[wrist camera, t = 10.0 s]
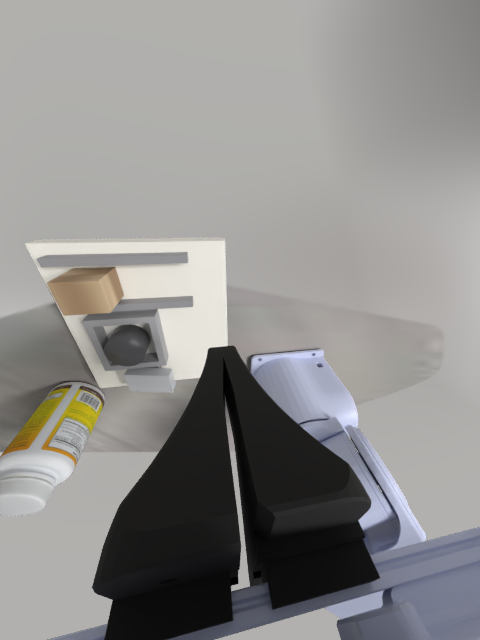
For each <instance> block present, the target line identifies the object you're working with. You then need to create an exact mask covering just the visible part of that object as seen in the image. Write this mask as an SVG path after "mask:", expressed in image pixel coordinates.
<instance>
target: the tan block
mask: <svg viewBox="0 0 480 640" xmlns="http://www.w3.org/2000/svg"><path fill="white" fill-rule="evenodd" d="M47 284H48V286H49V288H50V290H51V292H52V294H53V296H54V298H55V300H56V302H57V304H58V306H59V308H60V310H61V311H62V313H63V315H64V316H66V315H83V314H100V313H111V311H112V310H113V309H114V308H115V306H116V305H117V304H118V303H119V301H120V300H121V299H122V297H123V296H124V293H123V290H122V287H121V284H120V280H119V277H118V274H117V271H116V268H115V267H101V268H72V269H71V270H69V271H67V272H65V273H63V274H62V275H60V276H58V277H56V278H55V279H53V280H51V281H49V282H47Z"/></svg>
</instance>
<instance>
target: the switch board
mask: <svg viewBox="0 0 480 640" xmlns="http://www.w3.org/2000/svg"><path fill="white" fill-rule="evenodd" d="M25 245H26V247H27V249H28V251H29V253H30V255H31V257H32V259H33V261H34V262H35V264H36V266H37V268H38V270H39V272H40V274H41V276H42V278H43V279H44V282H45V284H46V285H47V287H48V289H49V291H50V293H51V295H52V297H53V299H54V301H55V303H56V305H57V306H58V304H57V302H56V300H55V298H54V296H53V294H52V292H51V290H50V288H49V286H48V284H47V282H49V281H51V280H53V279H55V278H56V277H58V276H60V275H62V274H63V273H65V272H67V271H69V270H71V269H72V268H101V267H115V268H116V271H117V274H118V277H119V280H120V284H121V287H122V290H123V293H124V296H123V297H122V299H121V300H120V301H119V303H118V304H117V305H116V306H115V308H114V309H113V310H112V311H111V313H100V314H83V315H66V316H64V315H63V313H62V311H61V310H60V308H59V306H58V308H59V310H60V312H61V314H62V316H63V318H64V320H65V322H66V324H67V326H68V328H69V329H70V331H71V333H72V335H73V337H74V339H75V341H76V343H77V345H78V347H79V349H80V351H81V352H82V354H83V356H84V358H85V360H86V362H87V364H88V366H89V368H90V370H91V372H92V374H93V375H94V377H95V379H96V381H97V383H98V385H99V387H100V388H107V387H117V386H126V385H127V382H126V380H125V377H124V373H125V372H126V370H127V369H134V368H171V369H172V370H173V375H174V379H175V380H183V379H192V378H200V377H201V374H202V371H203V368H204V365H205V362H206V358H207V353H208V349H209V348H213V347H224V346H228V343H227V299H226V257H225V256H226V255H225V239H224V238H138V239H137V238H135V239H53V240H52V239H48V240H36V241H32V242H29V243H25ZM129 324H132V325H136V326H139V327H141V328H143V329H144V330H145V331H146V332H147V333H148V334H149V336H150V344H149V347H148V349H147V352H146V355H145V358H144V360H143V361H142V362H141V363H139V364H137V365H135V366H120V365H117V364H114V363H113V362H111V361H110V360H109V359H108V358H107V357H106V356H105V354H104V346H105V344H106V343H107V341H108V340H109V338H110V337H111V335H112V334H113V332H114V331H115V329H116V328H118V327H119V326H122V325H129Z"/></svg>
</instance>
